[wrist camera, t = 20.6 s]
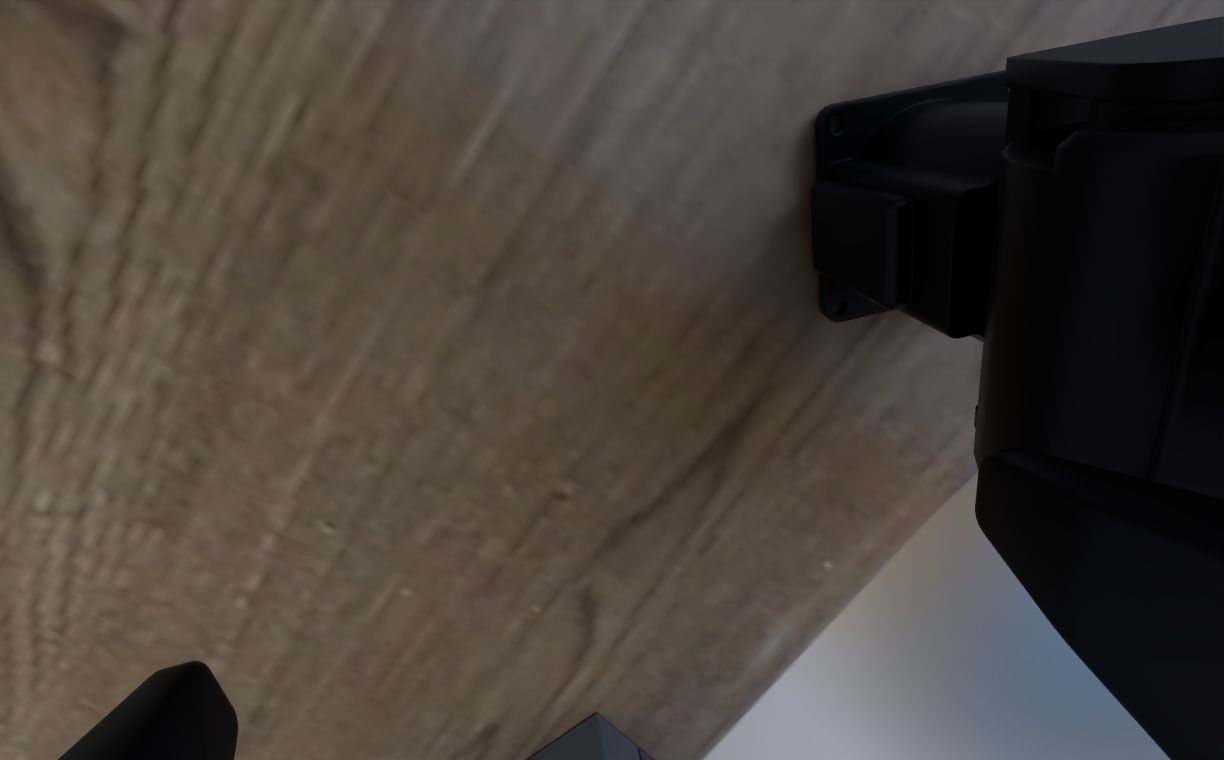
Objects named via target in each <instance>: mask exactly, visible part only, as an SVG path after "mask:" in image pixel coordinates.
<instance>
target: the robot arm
mask: <svg viewBox="0 0 1224 760" xmlns="http://www.w3.org/2000/svg"><path fill="white" fill-rule="evenodd" d="M1009 87H1010V89H1009ZM1008 89H1009V93H1008ZM835 115H837V116H838V117H839V120H840V123H839V127H838V128H837V129H836V131H834V132H832V131H831V129H830V121H831V119H832V118H833V117H834V116H835ZM815 147H816V182H815V183H814V185H813V187H812V188H811V212H812V245H813V267H814V269H815V270H817V271H818V272H819V297H820V310H821V313H822V314H823V315H824V316H825V317H826V318H828V319H829V320H831V321H833V322H843V321H847V320H852V319H856V318H860V317H865V316H869V315H873V314H878V313H882V312H886V311H893V310H897V309H898V310H899V311H901V312H903V313H905V314H907V315H909V316H911V317H913V318H915V319H917V320H919V321H920V322H922V323H924V324H926V325H928V326H930V327H932V328H934V329H936V330H938V331H940V332H941V333H943V334H945V335H947V336H949V337H951V338H962V337H966V336H972V337H974V338H976V339H978V340H980V341H982V342H984V344H983V355H982V366H981V377H980V388H979V399H978V405H977V406H976V410H975V421H974V426H975V428H976V432H975V443H974V455H975V459H976V463H977V467H978V471H979V472H978V482H977V493H976V504H975V514H976V519H977V521H978V524H979V526H980V528H981V530H982V531H983V533H984V534H985V536H986V537H987V538H988V540H989V541H990V542H991V543H992V545H993V546H994V548H995V549H996V550H997V552H998V553H999V554H1000V556H1001V557H1002V558H1003V560H1004V561H1005V562H1006V564H1007V565H1008V566H1009V568H1010V569H1011V571H1012V572H1013V573H1014V575H1015V576H1016V577H1017V578H1018V580H1019V581H1020V583H1021V584H1022V585H1023V587H1024V588H1025V589H1026V591H1027V592H1028V593H1029V595H1030V596H1031V597H1032V599H1033V600H1034V601H1035V603H1036V604H1037V605H1038V607H1039V608H1040V610H1041V611H1042V612H1043V614H1044V615H1045V616H1046V618H1047V619H1048V620H1049V622H1050V623H1051V624H1052V625H1053V627H1054V628H1055V629H1056V630H1057V632H1058V633H1059V634H1060V635H1061V637H1062V638H1063V639H1064V640H1065V642H1066V643H1067V644H1068V645H1069V646H1070V647H1071V649H1072V650H1073V651H1074V652H1075V653H1076V654H1077V656H1079V658H1080V659H1081V660H1082V661H1083V662H1084V663H1085V665H1086V666H1087V667H1088V668H1089V669H1090V670H1091V671H1092V672H1093V673H1094V675H1095V676H1096V677H1097V678H1098V679H1099V680H1100V681H1101V682H1102V684H1103V685H1104V686H1105V687H1106V688H1107V689H1108V690H1109V691H1110V692H1111V694H1112V695H1113V696H1114V697H1115V698H1116V699H1117V700H1118V701H1119V702H1120V704H1121V705H1122V706H1123V707H1124V708H1125V709H1126V710H1127V711H1128V712H1129V713H1130V715H1131V716H1132V717H1133V718H1134V719H1135V720H1136V721H1137V722H1138V724H1139V725H1140V726H1141V727H1142V728H1143V729H1144V730H1145V731H1146V733H1148V735H1149V736H1150V737H1151V738H1152V739H1153V740H1154V741H1155V743H1156V744H1157V745H1158V746H1159V747H1160V748H1161V749H1162V750H1163V751H1164V752H1165V754H1166V755H1167V756H1168V757H1169V758H1170V759H1171V760H1224V17H1219V18H1211V19H1205V20H1199V21H1194V22H1189V23H1183V24H1178V25H1173V26H1168V27H1163V28H1157V29H1152V30H1147V31H1142V32H1137V33H1131V34H1126V35H1121V36H1116V37H1110V38H1105V39H1100V40H1095V41H1090V42H1084V43H1079V44H1074V45H1069V46H1064V47H1058V48H1053V49H1048V50H1043V51H1037V52H1032V53H1027V54H1022V55H1017V56H1012V57H1008V58H1007V63H1006V70H1005V71H1000V72H995V73H989V74H984V75H979V76H974V77H969V78H964V79H959V80H953V81H948V82H943V83H938V84H933V85H928V86H923V87H917V88H912V89H907V90H902V91H897V92H892V93H887V94H881V95H876V96H871V97H866V98H861V99H856V100H851V101H846V102H840V103H835V104H831V105H828V106H826V107H824V108H823V109H822V110H821V111H820V112H819V114H818V116H817V118H816V123H815ZM839 300H841V301H842V304H841V306H840V308H839V309H838V310H836V311H833V306H834V304H835V303H836V302H837V301H839ZM237 737H238V721H237V716H236V713H235V710H234V708H233V706H232V705H231V703H230V701H229V700H228V698H227V697H226V695H225V693H224V692H223V690H222V688H221V687H220V685H219V683H218V682H217V680H216V678H215V677H214V675H213V674H212V672H211V670H210V669H209V668H208V666H207V665H206V664H204V663H202V662H200V661H191V662H187V663H183V664H180V665H176V666H172V667H168V668H164V669H162V670H159V671H157V672H155V673H154V674H153V675H151V676H150V677H149V678H148V679H147V680H146V681H145V682H143V683H142V684H141V685H140V686H139V687H138V688H137V689H136V690H135V691H133V692H132V693H131V694H130V695H129V696H128V697H127V698H126V699H125V700H123V701H122V702H121V703H120V704H119V705H118V706H117V707H116V708H115V709H113V710H112V711H111V712H110V713H109V714H108V715H107V716H106V717H105V718H104V719H102V720H101V721H100V722H99V723H98V724H97V725H96V726H95V727H94V728H92V729H91V730H90V731H89V732H88V733H87V734H86V735H85V736H84V737H82V738H81V739H80V740H79V741H78V742H77V743H76V744H75V745H74V746H72V747H71V748H70V749H69V750H68V751H67V752H66V753H65V754H64V755H62V756H61V757H60V758H59V759H58V760H234V756H235V749H236V743H237Z"/></svg>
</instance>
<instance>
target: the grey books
mask: <svg viewBox="0 0 1224 760" xmlns="http://www.w3.org/2000/svg"><path fill="white" fill-rule="evenodd" d="M528 760H653V759H652V758H651V757H650V756H648V755H647V754H646V753H645V752H644V751H642V750H641V749H637V746H636V745H635V744H634V743H632V742H631V741H630V740H629V739H628V738H626V737H625V736H624V735H623V734H622V733H620V732H619V731H618V730H617V729H616V728H614V727H613V726H612V725H611V724H610V723H608V722H607V721H606V720H605V719H604V718H602V717H601V716H600V715H599V714H598V713H596V714H594V715H593V716H591V717H590V718H588V719H587V720H586V721H584V722H583V723H581V724H580V725H578V726H577V727H575V728H574V729H572V730H571V731H569V732H568V733H566V734H565V735H563V736H562V737H561V738H559V739H558V740H556V741H555V742H553V743H552V744H550V745H549V746H547V747H546V748H544V749H543V750H541V751H540V752H538V753H537V754H535V755H534V756H533V757H531V758H530V759H528Z"/></svg>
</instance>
